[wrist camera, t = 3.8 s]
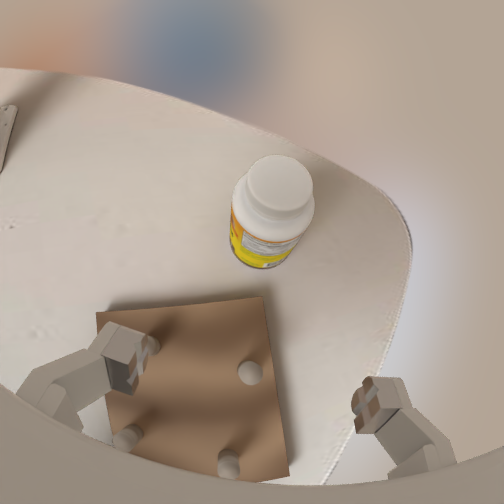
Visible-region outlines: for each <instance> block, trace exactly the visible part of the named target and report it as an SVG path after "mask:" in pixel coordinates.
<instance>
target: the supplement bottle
mask: <svg viewBox="0 0 504 504" xmlns="http://www.w3.org/2000/svg"><path fill="white" fill-rule="evenodd" d="M312 192H313V181H312V178H311V175H310V173H309V172H308V170H307V169H306V168H305V167H304V166H303V165H302V164H301V163H300V162H298V161H297V160H295V159H293V158H291V157H288V156H284V155H268V156H265V157H262V158H260V159H259V160H257V161H256V162H255V163H254V164H253V165H252V166H251V168H250V170H249V171H248V172H247V173H245V174H244V175H243V176H242V177H241V178H240V179H239V181H238V182H237V184H236V186H235V188H234V191H233V195H232V206H231V220H230V245H231V249H232V251H233V253H234V255H235V256H236V258H237V259H238V260H239V261H240V262H241V263H243V264H244V265H246V266H248V267H250V268H253V269H259V270H265V269H270V268H273V267H276V266H277V265H279V264H280V263H282V262H283V261H284V260H285V259H286V258H287V256H288V255H289V253H290V252H291V251H292V249H293V248H294V246H295V245H296V244H297V242H298V241H299V239H300V238H301V236H302V235H303V233H304V232H305V230H306V229H307V227H308V226H309V224H310V223H311V220H312V218H313V215H314V210H315V201H314V197H313V194H312Z"/></svg>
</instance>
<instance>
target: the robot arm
mask: <svg viewBox="0 0 504 504" xmlns="http://www.w3.org/2000/svg"><path fill="white" fill-rule="evenodd" d="M17 110H18V108H17V107H16V106H15V105H7V106H4V107H1V108H0V172H1V170H2V166H3V162H4V157H5V153H6V149H7V144H8V141H9V137H10V133H11V130H12V126H13V123H14V120H15V116H16V113H17ZM147 343H148V335H147V334H145V333H142V332H139V331H136V330H133V329H130V328H128V327H125V326H122V325H119V324H116V323H113V322H111V321H109V322H107V323H106V324H105V325H104V327H103V328H102V330H101V331H100V332H99V334H98V335H97V337H96V338H95V339H94V341H93V342H92V344H91V345H90V347H89V348H88V350H86V349H82V350H79V351H77V352H75V353H72V354H70V355H67V356H65V357H62V358H60V359H58V360H55V361H53V362H50V363H48V364H45V365H43V366H40V367H38V368H35V369H33V370H32V371H31V373H30V374H29V376H28V377H27V378H26V380H25V381H24V382H23V384H22V385H21V387H20V388H19V390H18V391H17V392H16V394H14V393H13V392H11V391H10V390H9V389H7V388H6V387H4V386H3V385H2V384H0V504H504V446H502V447H500V448H497V449H495V450H493V451H490V452H488V453H485V454H483V455H480V456H478V457H475V458H472V459H469V460H466V461H463V462H460V463H457V461H456V459H455V455H454V452H453V449H452V446H451V443H450V440H449V439H448V438H447V437H446V436H445V435H444V434H443V433H442V432H440V431H439V430H438V429H437V428H436V427H435V426H434V425H433V424H432V423H431V422H430V421H429V420H428V419H427V418H425V417H424V416H423V415H422V414H421V413H420V412H419V411H418V410H417V409H416V408H413V407H412V404H411V402H410V399H409V396H408V393H407V390H406V388H405V385H404V383H403V380H402V379H401V378H392V377H390V378H389V377H374V376H368V377H366V378H365V379H364V380H363V382H362V384H363V386H362V387H360V388H358V389H357V390H356V391H355V393H354V394H353V397H352V401H351V407H352V411H353V413H354V414H355V415H356V418H355V419H354V423H355V429H356V433H357V434H374V435H375V437H376V438H377V439H378V441H379V442H380V443H381V445H382V446H383V447H384V449H385V450H386V451H387V453H388V454H389V455H390V457H391V458H392V459H393V461H394V462H395V463H396V465H397V466H396V467H395V468H394V469H392V470H391V471H389V473H388V480H382V481H374V482H366V483H355V484H342V485H281V484H267V483H256V482H247V481H240V480H233V479H226V478H220V477H215V476H210V475H205V474H200V473H195V472H191V471H187V470H183V469H179V468H175V467H171V466H168V465H164V464H161V463H157V462H154V461H151V460H148V459H145V458H142V457H139V456H136V455H133V454H130V453H128V452H125V451H122V450H120V449H117V448H115V447H112V446H110V445H107V444H105V443H102V442H100V441H98V440H96V439H93V438H91V437H89V436H87V435H85V434H83V433H81V432H82V429H83V424H82V422H81V420H80V418H79V416H78V414H77V412H78V411H80V410H81V409H83V408H85V407H86V406H88V405H89V404H91V403H92V402H94V401H96V400H97V399H99V398H100V397H102V396H103V395H105V394H106V393H108V392H109V391H111V390H112V389H114V390H116V391H119V392H122V393H125V394H128V395H131V396H133V395H134V393H135V391H136V389H137V386H138V384H139V376H140V375H142V374H143V373H144V371H145V369H146V365H147V362H148V355H149V353H148V349H147V348H146V345H147Z"/></svg>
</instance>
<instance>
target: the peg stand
mask: <svg viewBox="0 0 504 504" xmlns="http://www.w3.org/2000/svg"><path fill="white" fill-rule="evenodd" d="M96 320H97V335H98V334H99V332H100V331H101V330H102V328H103V327H104V325H105V324H106V323H107V322H109V321H111V322H113V323H116V324H119V325H122V326H125V327H128V328H130V329H133V330H136V331H139V332H142V333H145V334H147V335H148V343H147V345H146V348H147V349H148V353H149V355H148V362H147V365H146V369H145V371H144V373H143V374H142V375H140V376H139V384H138V386H137V389H136V391H135V393H134V395H133V396H131V395H128V394H125V393H122V392H119V391H116V390H114V389H112V390H111V391H109V392H108V393H106V394H105V399H106V405H107V410H108V415H109V420H110V425H111V429H112V433H113V439H112V442H113V445H114V447H115V448H117V449H120V450H122V451H125V452H128V453H130V454H133V455H136V456H139V457H142V458H145V459H148V460H151V461H154V462H157V463H161V464H164V465H168V466H171V467H175V468H179V469H183V470H187V471H191V472H195V473H200V474H205V475H210V476H215V477H220V478H226V479H233V480H240V481H247V482H262V481H268V480H273V479H278V478H283V477H288V476H290V474H289V467H288V460H287V454H286V447H285V441H284V434H283V427H282V421H281V414H280V408H279V401H278V395H277V388H276V382H275V375H274V369H273V362H272V356H271V349H270V343H269V336H268V330H267V323H266V317H265V311H264V304H263V298H262V296H260V297H253V298H245V299H237V300H228V301H220V302H211V303H201V304H192V305H182V306H171V307H160V308H149V309H136V310H123V311H108V312H96Z"/></svg>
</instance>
